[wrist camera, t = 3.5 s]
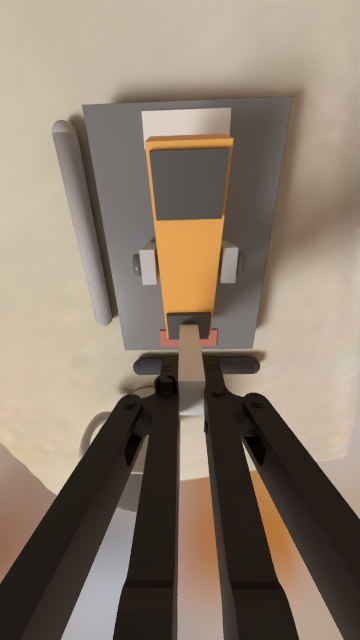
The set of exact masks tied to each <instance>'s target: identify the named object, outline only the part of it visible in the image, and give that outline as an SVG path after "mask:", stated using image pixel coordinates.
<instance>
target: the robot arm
mask: <svg viewBox="0 0 360 640" xmlns="http://www.w3.org/2000/svg"><path fill="white" fill-rule="evenodd" d="M154 384H155V393H154V394H152V395H150V396H148V397H144V398H140V396H138V395H136V394H129V395H126V396H124V397H122V398H121V399H120V400H119V402H118V403H117V405H116V406H115V408H114V409H113V411H112V412H111V414H110V415H109V417H108V418H107V420H106V422H105V423H104V425H103V426H102V428H101V429H100V431H99V432H98V434H97V435H96V437H95V439H94V440H93V442H92V443H91V445H90V446H89V448H88V449H87V451H86V452H85V454H84V456H83V457H82V459H81V460H80V462H79V463H78V465H77V466H76V468H75V469H74V471H73V472H72V474H71V476H70V477H69V479H68V480H67V482H66V483H65V485H64V486H63V488H62V489H61V491H60V493H59V494H58V496H57V497H56V499H55V500H54V502H53V503H52V505H51V506H50V508H49V510H48V511H47V513H46V514H45V516H44V517H43V519H42V520H41V522H40V523H39V525H38V526H37V528H36V530H35V531H34V533H33V534H32V536H31V537H30V539H29V541H28V542H27V543H26V545H25V547H24V548H23V550H22V551H21V553H20V555H19V556H18V557H17V559H16V560H15V562H14V563H13V565H12V567H11V568H10V570H9V571H8V573H7V574H6V576H5V577H4V579H3V580H2V582H1V584H0V640H61V637H62V635H63V633H64V630H65V628H66V626H67V623H68V621H69V619H70V616H71V614H72V611H73V609H74V607H75V604H76V602H77V599H78V597H79V595H80V592H81V590H82V588H83V585H84V583H85V580H86V578H87V576H88V573H89V571H90V569H91V566H92V564H93V562H94V559H95V557H96V554H97V552H98V550H99V547H100V545H101V543H102V540H103V538H104V536H105V533H106V531H107V528H108V526H109V524H110V521H111V519H112V516H113V514H114V512H115V509H116V507H117V505H118V502H119V500H120V498H121V495H122V493H123V490H124V488H125V486H126V483H127V481H128V479H129V476H130V474H131V471H132V469H133V467H134V464H135V462H136V460H137V457H138V455H139V453H140V450H141V448H142V445H143V443H144V441H145V438H146V436H147V435H149V438H148V444H147V451H146V457H145V464H144V470H143V477H142V483H141V490H140V496H139V503H138V509H137V516H136V523H135V529H134V536H133V542H132V548H131V555H130V562H129V568H128V573H127V578H126V581H125V583H124V586H123V588H122V592H121V596H120V601H119V606H118V612H117V617H116V623H115V629H114V635H113V640H177V585H178V584H177V583H178V514H179V511H178V509H179V507H178V506H179V443H180V415H204V416H205V421H204V432H205V435H206V445H207V455H208V465H209V476H210V485H211V496H212V506H213V516H214V527H215V536H216V547H217V557H218V567H219V578H220V587H221V597H222V614H223V633H224V640H299V637H298V633H297V630H296V626H295V622H294V619H293V615H292V612H291V609H290V605H289V602H288V599H287V597H286V594H285V592H284V590H283V588H282V586H281V585H280V583H279V582H278V579H277V576H276V573H275V570H274V566H273V562H272V558H271V554H270V550H269V546H268V542H267V538H266V534H265V530H264V526H263V523H262V519H261V515H260V511H259V507H258V503H257V499H256V495H255V491H254V488H253V484H252V480H251V476H250V472H249V468H248V464H247V460H246V456H245V452H244V448H243V444H244V446H245V448H246V449H247V451H248V453H249V455H250V457H251V459H252V461H253V463H254V465H255V467H256V469H257V471H258V473H259V475H260V477H261V479H262V480H263V482H264V485H265V487H266V488H267V490H268V492H269V494H270V496H271V498H272V500H273V502H274V504H275V506H276V508H277V510H278V512H279V514H280V516H281V518H282V520H283V522H284V524H285V525H286V527H287V529H288V531H289V533H290V535H291V537H292V539H293V541H294V543H295V545H296V547H297V549H298V551H299V552H300V555H301V557H302V559H303V561H304V563H305V564H306V566H307V568H308V570H309V572H310V574H311V576H312V578H313V580H314V582H315V584H316V586H317V588H318V590H319V592H320V594H321V596H322V598H323V600H324V602H325V603H326V606H327V607H328V609H329V611H330V613H331V615H332V617H333V619H334V621H335V623H336V625H337V627H338V628H339V631H340V633H341V635H342V637H343V639H344V640H360V519H359V518H358V516H357V515H356V514H355V513H354V511H353V510H352V509H351V507H350V506H349V505H348V503H347V502H346V501H345V500H344V498H343V497H342V496H341V494H340V493H339V492H338V490H337V489H336V488H335V486H333V484H332V483H331V481H330V480H329V479H328V477H327V476H326V475H325V474H324V472H323V471H322V470H321V468H320V467H319V466H318V464H317V463H316V462H315V460H314V459H313V458H312V457H311V455H310V454H309V453H308V451H307V450H306V449H305V447H304V446H303V445H302V444H301V442H300V441H299V440H298V438H297V437H296V436H295V434H294V433H293V432H292V431H291V429H290V428H289V427H288V425H287V424H286V423H285V421H284V420H283V419H282V418H281V416H280V415H279V414H278V412H277V411H276V410H275V408H274V407H273V406H272V405H271V403H270V402H269V401H268V399H267V398H265V397H264V396H263V395H261V394H258V393H249V394H246V396H245V397H241V396H237V395H234V394H232V393H231V392H229V391H228V389H227V388H226V386H225V383H224V379H223V375H222V371H221V367H220V363H219V360H218V359H217V357H216V356H215V355H213V356H202V352H201V344H200V337H199V329H198V325H180V334H179V356H167V357H165V358H164V359H163V360H162V364H161V371H160V376H158V377H157V378H156V379H155V381H154ZM242 442H243V444H242Z"/></svg>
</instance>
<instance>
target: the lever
mask: <svg viewBox="0 0 360 640" xmlns="http://www.w3.org/2000/svg"><path fill="white" fill-rule="evenodd" d="M233 139H234V138H232V137H230V136H229V135H227V134H200V135H173V136H150V137H149V138H148V139H147V140H146V141H145V148H146V157H147V166H148V175H149V183H150V192H151V201H152V210H153V219H154V227H155V236H156V245H157V254H158V262H159V271H160V280H161V289H162V298H163V306H164V315H165V324H166V333H167V338H169V340H179V334H180V325H198V329H199V337H200V339H209V338H210V335H211V326H212V318H213V309H214V301H215V292H216V284H217V275H218V267H219V258H220V250H221V241H222V233H223V224H224V216H225V207H226V199H227V190H228V182H229V173H230V165H231V156H232V148H233Z"/></svg>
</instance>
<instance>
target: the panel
mask: <svg viewBox="0 0 360 640" xmlns="http://www.w3.org/2000/svg"><path fill="white" fill-rule="evenodd" d="M291 103H292V96H286V97H262V98H238V99H213V100H189V101H165V102H141V103H116V104H92V105H82V107H83V113H84V118H85V124H86V130H87V135H88V141H89V147H90V153H91V158H92V164H93V170H94V176H95V181H96V187H97V193H98V198H99V204H100V210H101V216H102V221H103V227H104V233H105V239H106V244H107V250H108V256H109V261H110V267H111V273H112V279H113V284H114V290H115V296H116V301H117V307H118V313H119V319H120V324H121V330H122V336H123V342H124V347H125V350H179V340H169V338H167V333H166V324H165V315H164V306H163V298H162V289H161V280H160V271H159V262H158V254H157V245H156V236H155V227H154V219H153V210H152V201H151V192H150V183H149V175H148V166H147V157H146V148H145V141H146V140H147V139H148V138H149V137H150V136H173V135H200V134H227V135H229V136H230V137H232V138H234V139H233V148H232V156H231V165H230V173H229V182H228V190H227V199H226V207H225V216H224V224H223V233H222V241H221V250H220V258H219V267H218V275H217V284H216V292H215V301H214V309H213V318H212V326H211V335H210V338H209V339H200V344H201V349H252V348H253V342H254V335H255V329H256V323H257V317H258V310H259V304H260V298H261V291H262V285H263V279H264V273H265V266H266V260H267V254H268V247H269V241H270V235H271V229H272V222H273V216H274V210H275V203H276V197H277V191H278V184H279V178H280V172H281V166H282V159H283V153H284V147H285V140H286V134H287V128H288V122H289V115H290V109H291Z"/></svg>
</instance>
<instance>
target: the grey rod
mask: <svg viewBox="0 0 360 640" xmlns="http://www.w3.org/2000/svg"><path fill="white" fill-rule="evenodd" d="M52 135H53V139H54V143H55V148H56V152H57V156H58V160H59V165H60V169H61V173H62V178H63V182H64V186H65V191H66V195H67V199H68V203H69V208H70V212H71V216H72V221H73V225H74V229H75V233H76V238H77V242H78V246H79V251H80V255H81V259H82V263H83V268H84V272H85V276H86V281H87V285H88V289H89V293H90V298H91V302H92V306H93V311H94V315H95V319H96V322H97V323H98V324H99V325H102V326H106V325H109V324H110V323H111V321H112V313H111V308H110V303H109V298H108V292H107V287H106V282H105V277H104V271H103V266H102V261H101V256H100V251H99V245H98V240H97V235H96V230H95V224H94V219H93V214H92V209H91V204H90V198H89V193H88V188H87V183H86V177H85V172H84V167H83V162H82V157H81V151H80V146H79V141H78V136H77V133H76V131H75V129H74V128H73V126H72V125H71V124H69V123H68V122H66V121H63V120H58V121H56V122H55V123H54V124H53V127H52Z"/></svg>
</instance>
